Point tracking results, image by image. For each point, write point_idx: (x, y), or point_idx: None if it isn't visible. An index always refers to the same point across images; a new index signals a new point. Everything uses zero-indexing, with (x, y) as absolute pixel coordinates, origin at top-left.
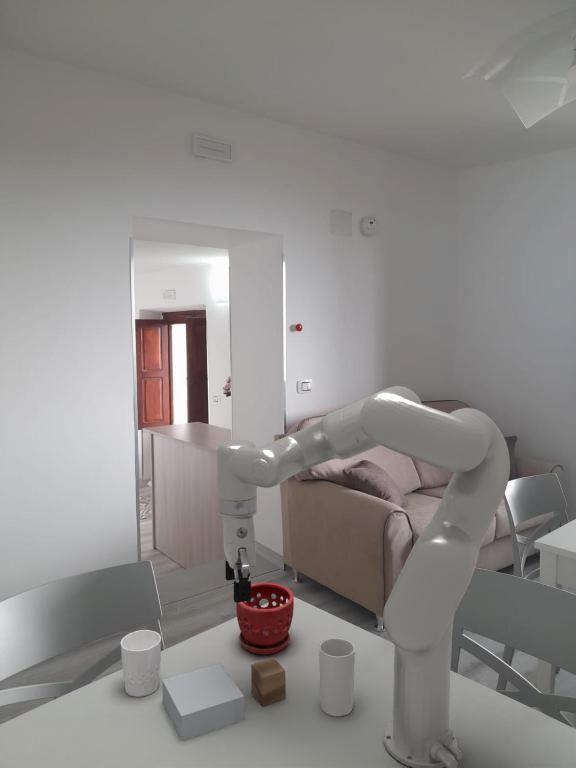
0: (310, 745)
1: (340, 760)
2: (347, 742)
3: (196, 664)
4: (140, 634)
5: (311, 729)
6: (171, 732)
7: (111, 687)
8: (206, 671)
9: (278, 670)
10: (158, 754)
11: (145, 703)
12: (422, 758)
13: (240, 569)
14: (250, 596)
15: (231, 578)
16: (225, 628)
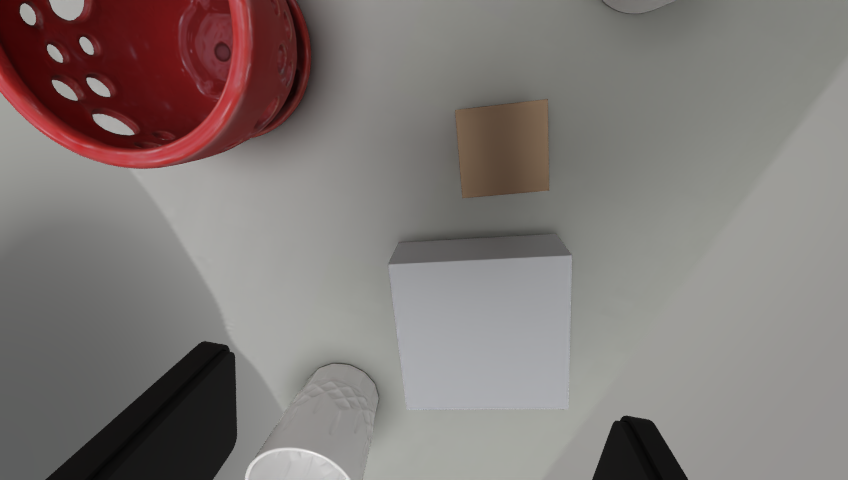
0: (739, 114)
1: (841, 60)
2: (798, 4)
3: (292, 270)
4: (254, 474)
5: (687, 84)
6: None
7: None
8: (412, 309)
9: (536, 123)
10: (568, 412)
11: (402, 399)
12: None
13: (176, 411)
14: (665, 446)
15: (228, 421)
16: None
